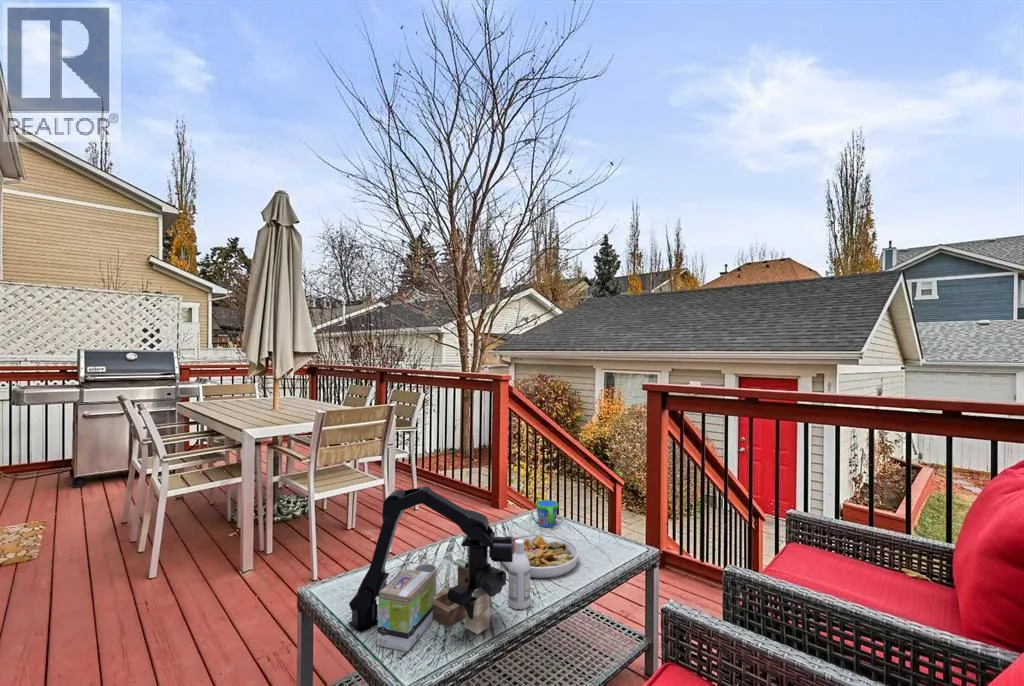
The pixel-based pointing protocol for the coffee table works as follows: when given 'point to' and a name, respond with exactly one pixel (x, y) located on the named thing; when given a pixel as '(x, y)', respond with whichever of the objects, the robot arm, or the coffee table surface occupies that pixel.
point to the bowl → (548, 555)
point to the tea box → (405, 609)
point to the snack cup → (547, 512)
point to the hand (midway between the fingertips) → (477, 614)
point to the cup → (430, 569)
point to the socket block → (447, 609)
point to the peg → (479, 613)
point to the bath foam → (519, 578)
